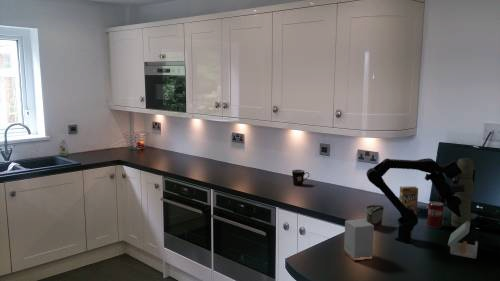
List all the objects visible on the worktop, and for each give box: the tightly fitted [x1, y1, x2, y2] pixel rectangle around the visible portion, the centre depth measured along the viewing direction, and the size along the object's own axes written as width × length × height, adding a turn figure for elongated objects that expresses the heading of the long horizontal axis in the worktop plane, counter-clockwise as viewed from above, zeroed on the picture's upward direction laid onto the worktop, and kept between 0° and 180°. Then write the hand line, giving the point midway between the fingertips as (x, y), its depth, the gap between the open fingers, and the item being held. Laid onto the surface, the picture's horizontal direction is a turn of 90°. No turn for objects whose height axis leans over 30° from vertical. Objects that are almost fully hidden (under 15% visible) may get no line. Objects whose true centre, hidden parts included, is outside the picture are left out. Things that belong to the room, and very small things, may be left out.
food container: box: [364, 204, 385, 229], centre depth 219 cm, size 12×6×10 cm, turn 134°
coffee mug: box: [291, 169, 310, 187], centre depth 299 cm, size 12×9×10 cm
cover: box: [447, 221, 471, 248], centre depth 189 cm, size 10×14×2 cm
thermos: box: [450, 157, 477, 229], centre depth 218 cm, size 9×12×35 cm
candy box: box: [398, 186, 419, 215], centre depth 237 cm, size 9×4×15 cm, turn 92°
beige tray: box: [449, 240, 479, 260], centre depth 189 cm, size 10×13×3 cm
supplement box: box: [343, 218, 375, 258], centre depth 182 cm, size 9×9×15 cm
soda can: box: [426, 201, 445, 229], centre depth 219 cm, size 7×7×12 cm
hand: (456, 213), depth 196 cm, fingers open, 9 cm apart
